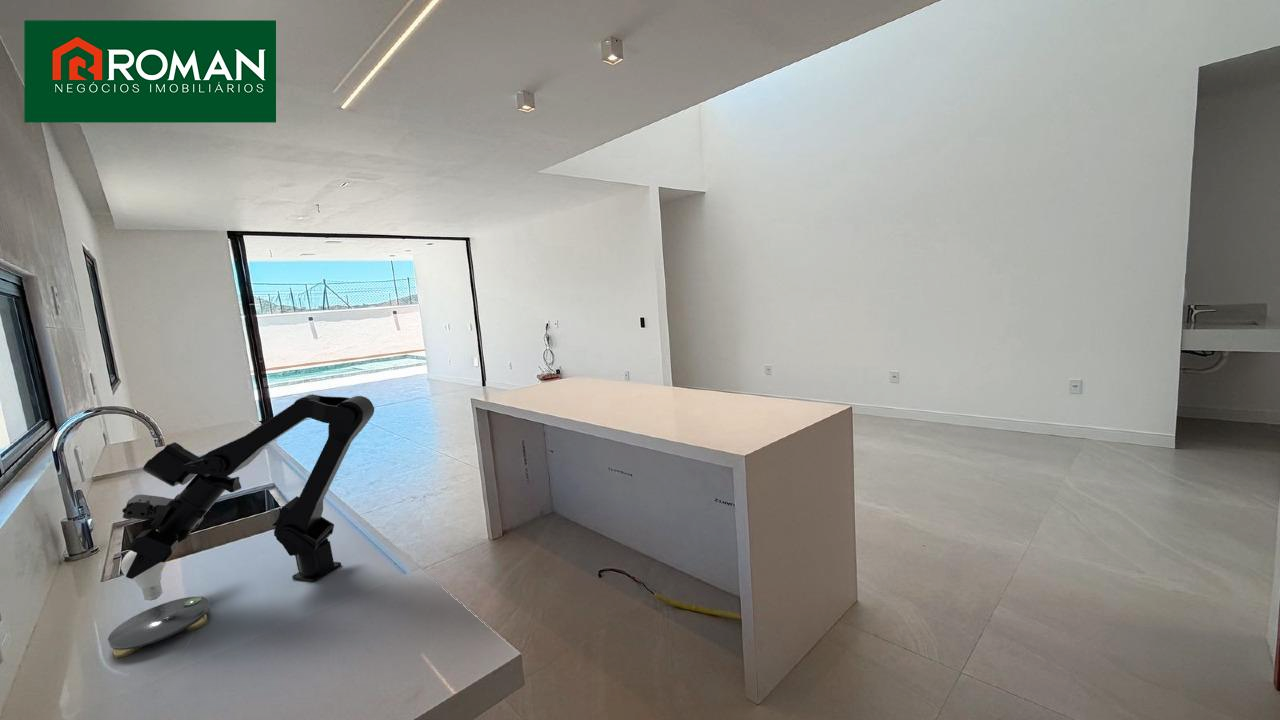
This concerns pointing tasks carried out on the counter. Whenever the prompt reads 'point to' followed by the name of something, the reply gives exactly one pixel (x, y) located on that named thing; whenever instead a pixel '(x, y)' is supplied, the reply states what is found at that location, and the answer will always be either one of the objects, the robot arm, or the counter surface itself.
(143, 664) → the counter surface
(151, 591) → the lightbulb
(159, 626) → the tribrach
